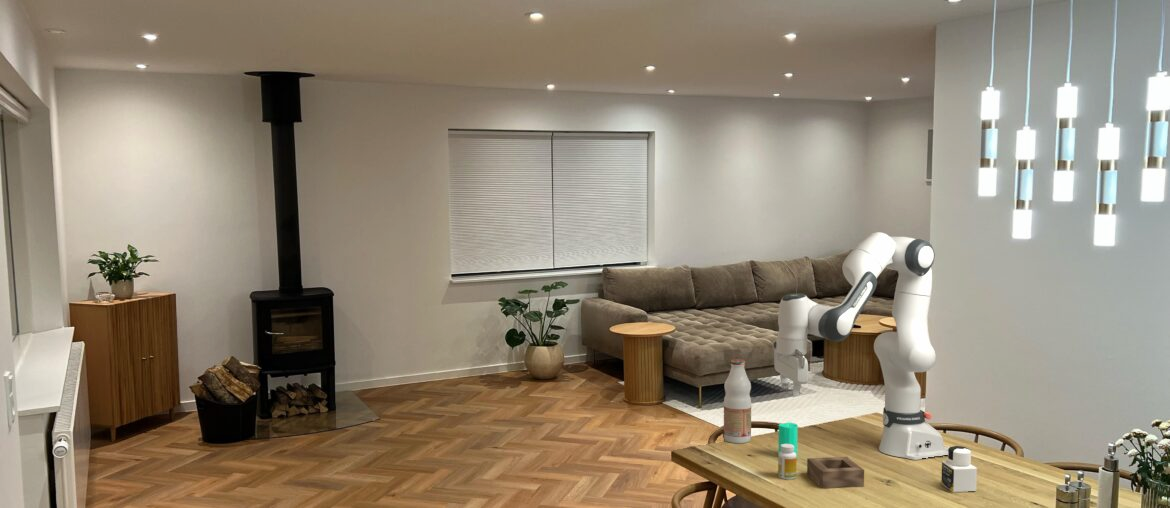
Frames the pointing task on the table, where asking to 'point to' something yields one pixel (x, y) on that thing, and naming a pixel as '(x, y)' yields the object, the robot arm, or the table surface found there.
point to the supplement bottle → (787, 462)
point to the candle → (788, 435)
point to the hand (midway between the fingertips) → (790, 392)
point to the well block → (835, 472)
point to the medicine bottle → (959, 470)
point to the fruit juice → (737, 404)
